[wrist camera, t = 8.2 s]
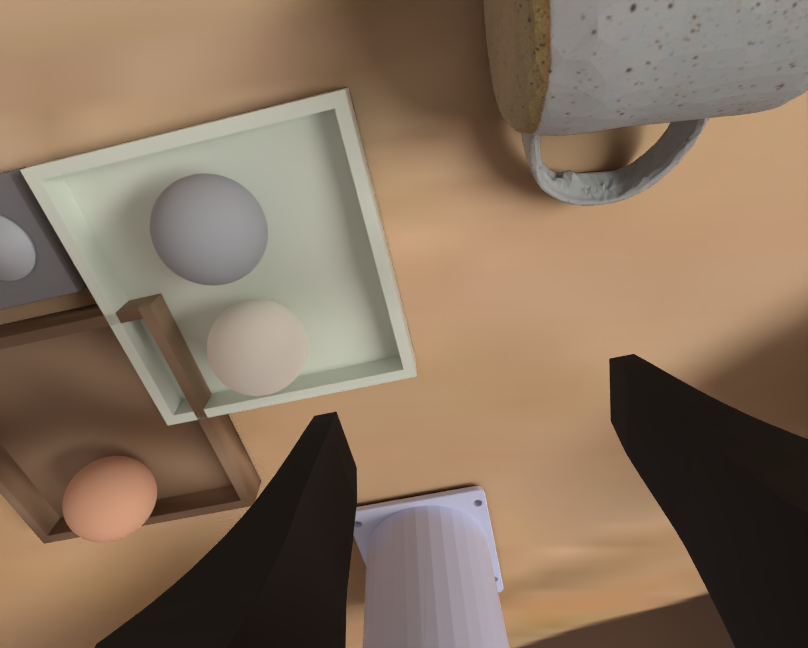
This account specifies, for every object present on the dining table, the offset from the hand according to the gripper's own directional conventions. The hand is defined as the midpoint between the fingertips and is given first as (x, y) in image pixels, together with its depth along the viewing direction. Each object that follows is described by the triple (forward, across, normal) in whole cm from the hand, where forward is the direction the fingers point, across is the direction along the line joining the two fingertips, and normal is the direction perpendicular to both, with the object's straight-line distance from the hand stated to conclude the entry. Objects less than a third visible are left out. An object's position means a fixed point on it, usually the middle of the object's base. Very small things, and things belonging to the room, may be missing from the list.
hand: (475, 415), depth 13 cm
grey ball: (+9, +8, -5) cm, 13 cm away
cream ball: (+9, +8, 0) cm, 12 cm away
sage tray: (+10, +8, -2) cm, 13 cm away
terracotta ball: (+9, +18, +7) cm, 21 cm away
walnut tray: (+10, +18, +4) cm, 21 cm away
